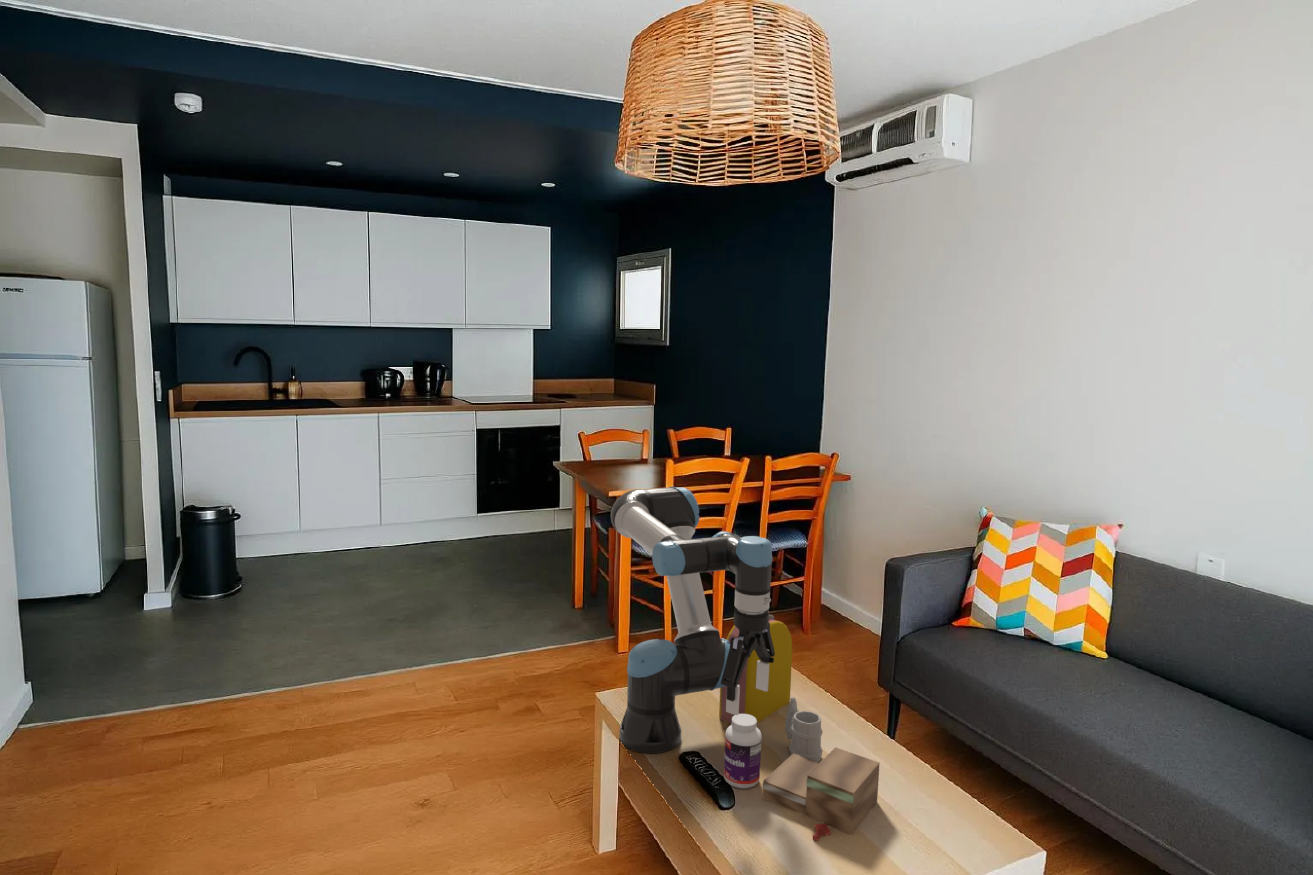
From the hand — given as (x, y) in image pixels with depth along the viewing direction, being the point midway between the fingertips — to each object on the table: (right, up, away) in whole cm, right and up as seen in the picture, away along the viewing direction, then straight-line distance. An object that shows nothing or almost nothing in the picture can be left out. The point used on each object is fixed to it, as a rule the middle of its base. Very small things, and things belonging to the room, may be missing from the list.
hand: (747, 700), depth 172 cm
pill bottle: (-1, -19, +2) cm, 19 cm away
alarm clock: (+6, -14, +35) cm, 38 cm away
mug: (+14, -17, +14) cm, 27 cm away
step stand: (+13, -20, -7) cm, 25 cm away
